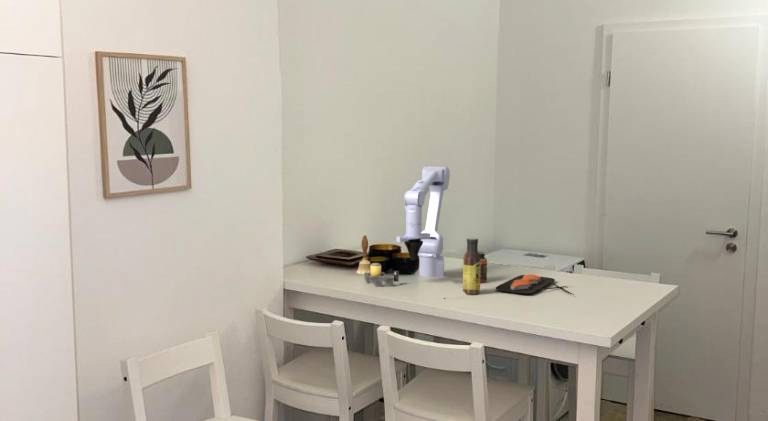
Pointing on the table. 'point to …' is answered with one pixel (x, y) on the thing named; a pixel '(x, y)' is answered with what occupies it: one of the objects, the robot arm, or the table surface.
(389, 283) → the dock
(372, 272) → the yellow cylinder
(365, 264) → the hand bell
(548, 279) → the sushi plate
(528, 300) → the table surface
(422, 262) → the robot arm
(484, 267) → the supplement bottle
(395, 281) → the lock pin
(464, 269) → the sauce bottle
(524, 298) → the table surface
